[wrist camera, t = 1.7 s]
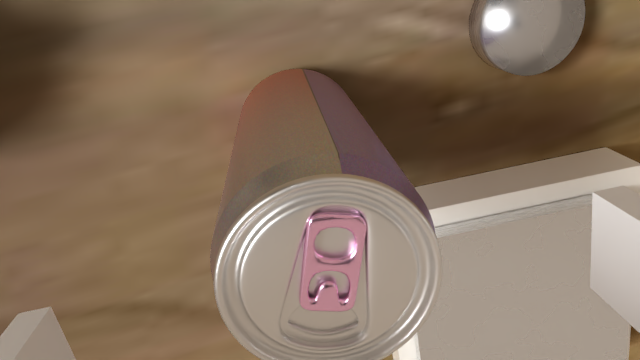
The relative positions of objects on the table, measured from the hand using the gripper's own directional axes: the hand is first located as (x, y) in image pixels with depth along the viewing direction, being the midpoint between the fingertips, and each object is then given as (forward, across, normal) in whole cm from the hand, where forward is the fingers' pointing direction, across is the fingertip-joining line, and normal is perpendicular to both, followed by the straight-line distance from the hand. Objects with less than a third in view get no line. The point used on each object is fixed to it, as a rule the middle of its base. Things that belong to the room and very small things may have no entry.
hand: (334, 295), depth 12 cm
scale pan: (+12, +10, -12) cm, 19 cm away
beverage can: (+15, 0, 0) cm, 15 cm away
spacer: (+15, +12, +4) cm, 20 cm away
